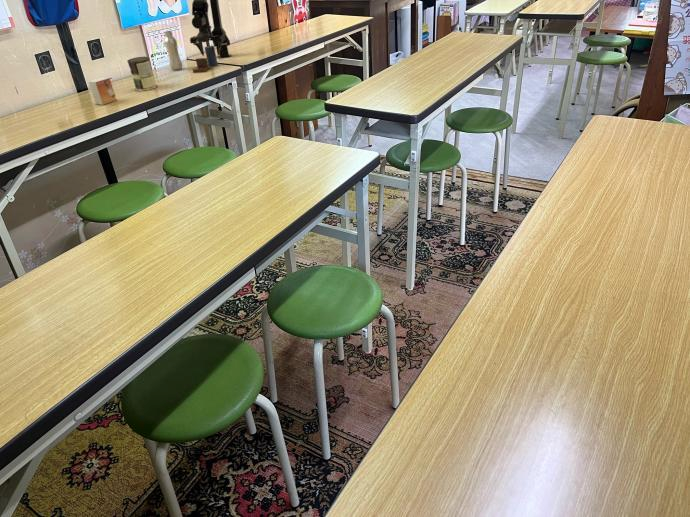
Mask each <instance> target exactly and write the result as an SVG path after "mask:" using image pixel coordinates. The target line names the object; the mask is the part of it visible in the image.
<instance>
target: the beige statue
mask: <svg viewBox="0 0 690 517" xmlns="http://www.w3.org/2000/svg"><path fill="white" fill-rule="evenodd" d="M164 36H165V38H164V45H165V48H166V50H167V53H168V59H169V67H170V69H171V70H173V71H179V70H181V69H183V62H182V60H181V57H180V53H179V47H178V40H177V39H176V38H175V37H174V36H173V32H172V31H171V30H167V31H164Z"/></svg>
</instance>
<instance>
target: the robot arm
mask: <svg viewBox="0 0 690 517" xmlns="http://www.w3.org/2000/svg"><path fill="white" fill-rule="evenodd" d="M209 4H210V10H211V17H212V18H211V19H212V24H213V29H212V25H211V24H210V19H209ZM191 15H192V16H193V18H192V19H191V25H192V27H193V28H194V29H198V33H197V34H196V35H193V36H191V37H190V38H189V43H190V44H192V45H193V46H196V47H197V49H198V50H199V52H200V54H201V55H202V57H204V56H205V49H204V46H203V43H207V42H211V41H212V44H213V46H214V48H216V53H217V54H216V55H217V57H218V58H220V59H224V58H229V57H232V54H230V52H229V48H228V47H229V46H231V41H230V38H229V37H228V36H227V32H226V31H225V29H224V28H223V24H222V18H221V17H222V16H221V11H220V3H219V0H209V3H208V0H193V1H192V4H191Z"/></svg>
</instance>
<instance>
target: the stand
mask: <svg viewBox="0 0 690 517" xmlns="http://www.w3.org/2000/svg"><path fill="white" fill-rule="evenodd" d="M195 62H196V67H194V68H193V69H192V73H206V72H208V71H209V70H210V69H212V67H211V65H208V61H207V57H200V58H195Z"/></svg>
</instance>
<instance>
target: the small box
mask: <svg viewBox="0 0 690 517" xmlns="http://www.w3.org/2000/svg"><path fill="white" fill-rule="evenodd" d="M88 85H89V88H90V91H91V95H92V97H93V99H94V103H95V105H102V106H103V105H106V104H109V103H112V102H116V101H117V96H116V93H115V91H114V88H113V84H112V81H111V78H110V77H100V78H99V77H98V78H96V79H92V80H89V81H88Z"/></svg>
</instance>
